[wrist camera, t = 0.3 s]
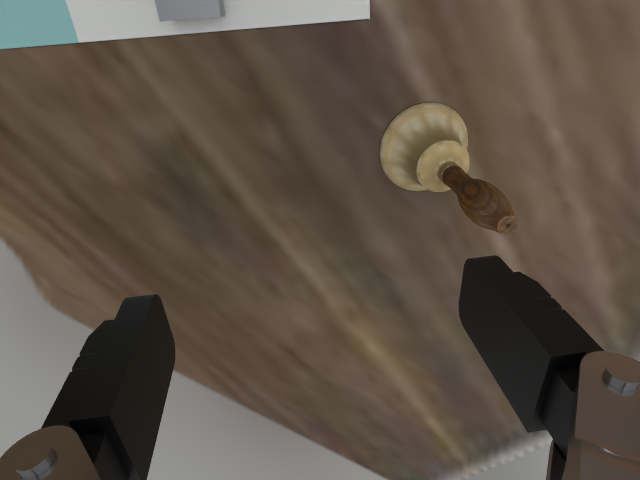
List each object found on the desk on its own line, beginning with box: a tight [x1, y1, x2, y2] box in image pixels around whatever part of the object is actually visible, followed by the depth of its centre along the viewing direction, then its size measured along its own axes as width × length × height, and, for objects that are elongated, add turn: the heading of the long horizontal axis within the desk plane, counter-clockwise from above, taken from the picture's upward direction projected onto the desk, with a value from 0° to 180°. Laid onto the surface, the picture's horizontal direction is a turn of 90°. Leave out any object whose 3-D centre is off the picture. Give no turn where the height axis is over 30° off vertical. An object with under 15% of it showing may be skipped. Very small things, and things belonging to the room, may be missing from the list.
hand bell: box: [380, 102, 518, 235], centre depth 32 cm, size 8×8×16 cm
